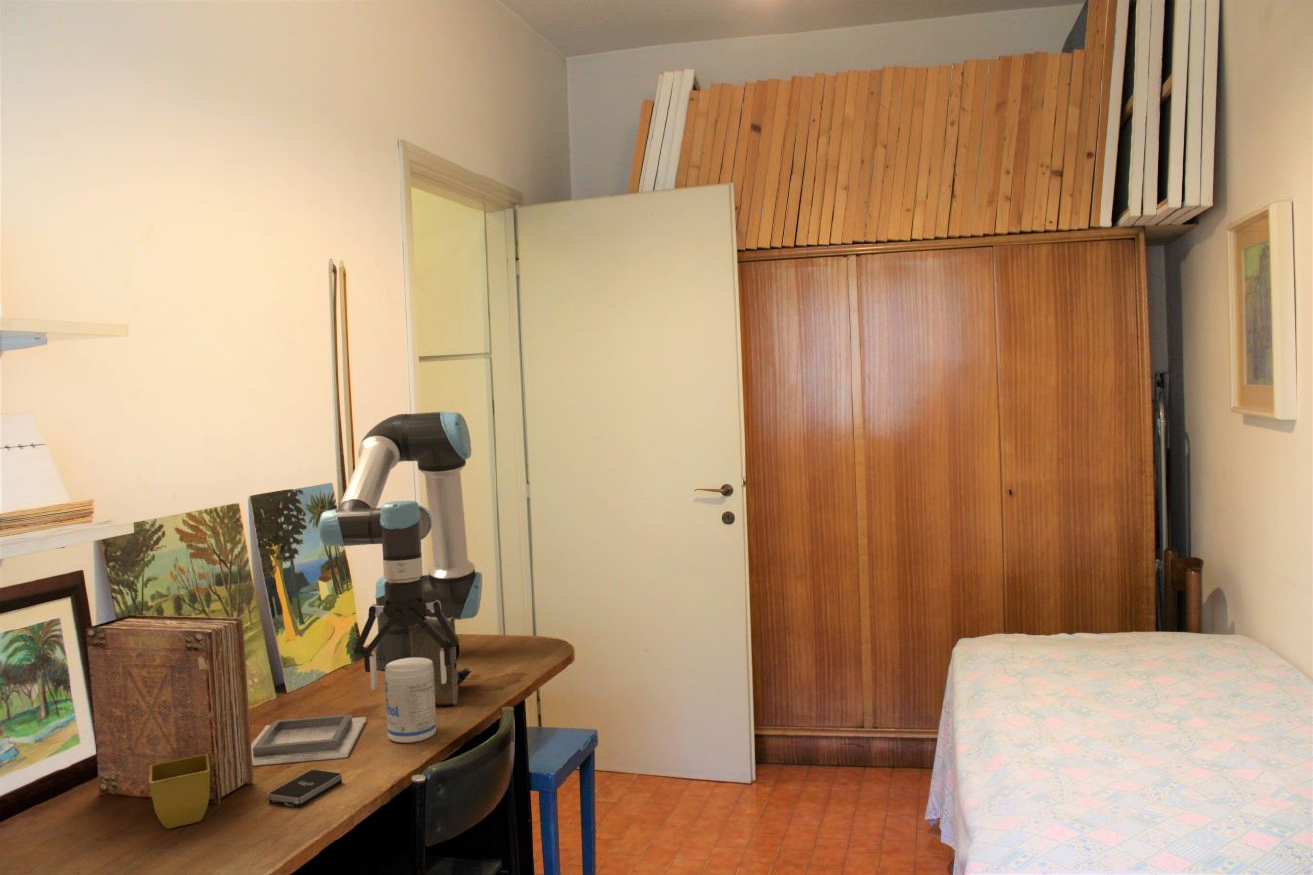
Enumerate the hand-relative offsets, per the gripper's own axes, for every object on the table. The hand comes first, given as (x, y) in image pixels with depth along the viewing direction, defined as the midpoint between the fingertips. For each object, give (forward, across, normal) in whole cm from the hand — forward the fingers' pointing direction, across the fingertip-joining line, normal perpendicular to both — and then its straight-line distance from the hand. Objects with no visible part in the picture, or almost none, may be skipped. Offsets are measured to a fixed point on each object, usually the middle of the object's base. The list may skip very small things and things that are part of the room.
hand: (409, 684), depth 190 cm
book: (+11, -39, -16) cm, 44 cm away
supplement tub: (+11, 0, 0) cm, 11 cm away
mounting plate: (+10, -21, +2) cm, 23 cm away
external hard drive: (+11, -15, -24) cm, 30 cm away
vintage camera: (+10, +4, +24) cm, 27 cm away
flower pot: (+11, -33, -31) cm, 46 cm away
